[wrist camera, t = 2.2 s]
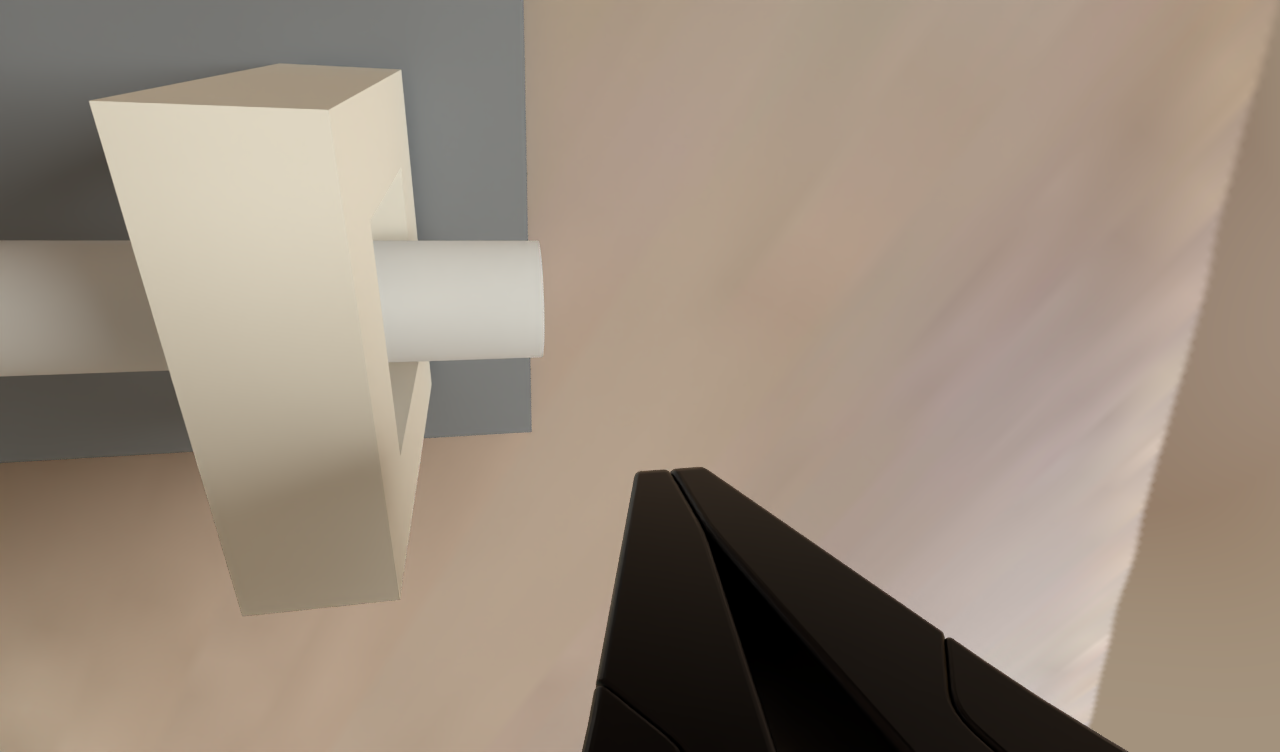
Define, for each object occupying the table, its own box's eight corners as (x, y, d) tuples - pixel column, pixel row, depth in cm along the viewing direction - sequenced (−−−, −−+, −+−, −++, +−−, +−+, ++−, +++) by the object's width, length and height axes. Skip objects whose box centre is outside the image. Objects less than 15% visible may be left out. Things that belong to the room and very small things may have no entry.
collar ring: (401, 69, 15) (328, 109, 8) (431, 384, 19) (399, 599, 12) (279, 63, 14) (88, 100, 7) (335, 388, 18) (242, 616, 11)
